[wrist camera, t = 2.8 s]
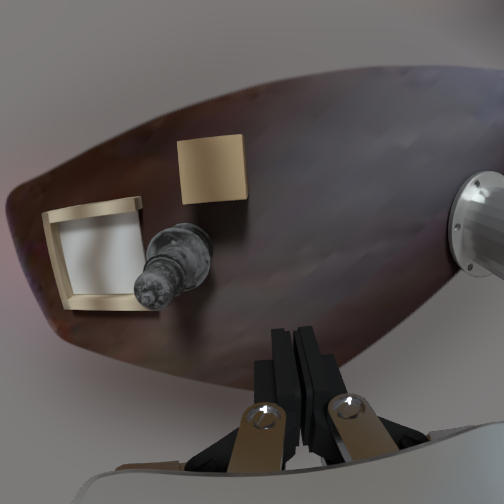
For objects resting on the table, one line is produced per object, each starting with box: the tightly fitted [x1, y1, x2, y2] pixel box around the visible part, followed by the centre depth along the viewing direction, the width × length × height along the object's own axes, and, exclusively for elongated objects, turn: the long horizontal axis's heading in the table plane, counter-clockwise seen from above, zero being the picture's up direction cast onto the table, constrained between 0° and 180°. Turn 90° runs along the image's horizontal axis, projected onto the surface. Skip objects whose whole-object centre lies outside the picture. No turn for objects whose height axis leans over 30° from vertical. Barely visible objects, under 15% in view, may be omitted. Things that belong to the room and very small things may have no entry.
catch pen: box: [42, 196, 152, 311], centre depth 29 cm, size 12×11×2 cm
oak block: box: [177, 134, 249, 204], centre depth 25 cm, size 5×5×5 cm
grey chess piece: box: [134, 223, 213, 311], centre depth 24 cm, size 6×6×12 cm
